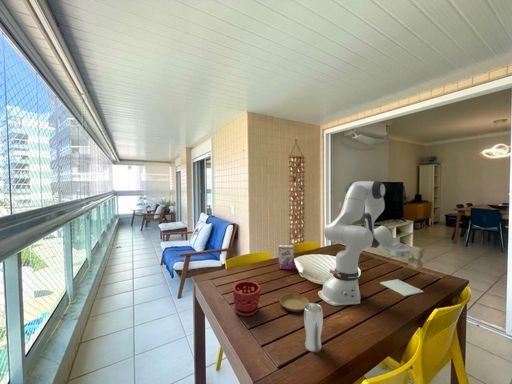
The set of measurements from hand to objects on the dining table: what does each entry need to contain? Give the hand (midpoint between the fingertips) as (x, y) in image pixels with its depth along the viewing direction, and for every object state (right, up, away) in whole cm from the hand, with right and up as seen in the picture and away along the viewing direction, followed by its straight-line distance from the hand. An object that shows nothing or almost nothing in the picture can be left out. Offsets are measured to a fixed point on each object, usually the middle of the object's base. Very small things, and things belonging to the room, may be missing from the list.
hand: (416, 256), depth 128 cm
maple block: (0, -6, +1) cm, 7 cm away
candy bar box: (-74, -17, +29) cm, 81 cm away
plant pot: (-100, -20, -23) cm, 105 cm away
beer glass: (-74, -20, -46) cm, 90 cm away
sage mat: (-11, -18, -1) cm, 21 cm away
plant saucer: (-76, -20, -19) cm, 81 cm away
